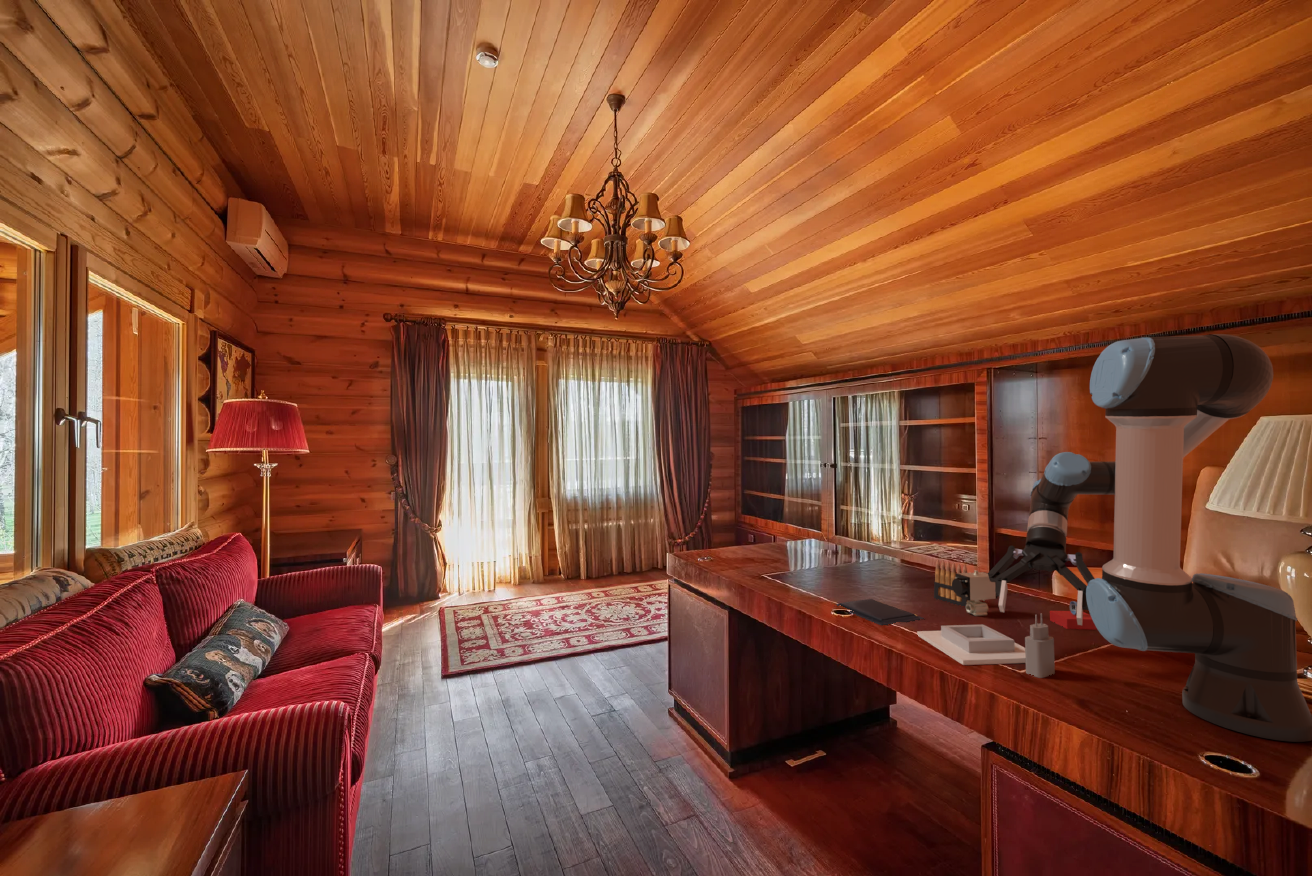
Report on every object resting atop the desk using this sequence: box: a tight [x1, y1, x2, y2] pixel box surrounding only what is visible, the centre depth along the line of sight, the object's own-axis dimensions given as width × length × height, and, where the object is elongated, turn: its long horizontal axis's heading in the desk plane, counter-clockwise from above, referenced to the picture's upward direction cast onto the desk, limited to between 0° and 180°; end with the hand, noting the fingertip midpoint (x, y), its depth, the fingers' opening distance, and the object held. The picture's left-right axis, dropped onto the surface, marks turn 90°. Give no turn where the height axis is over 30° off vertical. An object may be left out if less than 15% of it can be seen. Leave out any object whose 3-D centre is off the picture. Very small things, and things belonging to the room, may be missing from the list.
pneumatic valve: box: [952, 569, 999, 617], centre depth 148 cm, size 6×12×12 cm, turn 98°
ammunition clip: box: [933, 558, 971, 608], centre depth 159 cm, size 11×2×12 cm, turn 24°
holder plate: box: [916, 624, 1026, 666], centre depth 123 cm, size 18×18×4 cm
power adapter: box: [1024, 612, 1056, 679], centre depth 109 cm, size 3×5×12 cm, turn 115°
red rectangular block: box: [1049, 600, 1098, 631], centre depth 138 cm, size 8×7×6 cm
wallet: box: [835, 598, 925, 626], centre depth 150 cm, size 20×2×15 cm
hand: (1038, 615), depth 114 cm, fingers open, 13 cm apart
